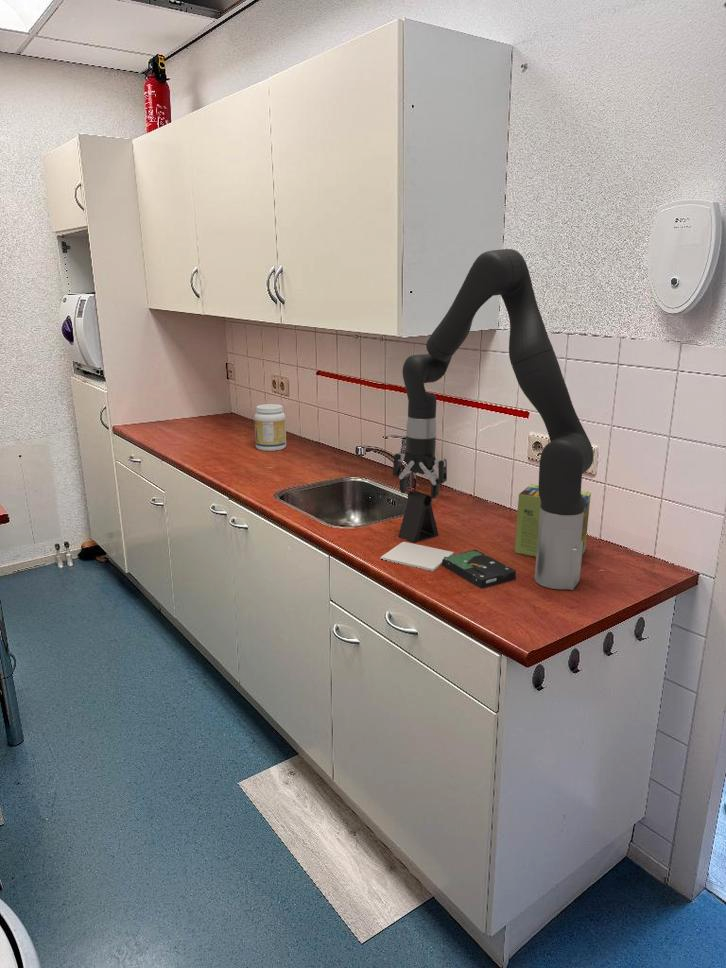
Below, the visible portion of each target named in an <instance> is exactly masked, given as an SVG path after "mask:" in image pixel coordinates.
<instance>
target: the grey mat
mask: <svg viewBox="0 0 726 968" xmlns="http://www.w3.org/2000/svg"><path fill="white" fill-rule="evenodd" d="M453 555H455V552H454V551H450V550H445V549H440V548H436V547H431V546H426V545H421V544H418V543H413V542H409V541H402V542H400V543H399V544H398V545H396V546H394V547H393V548H392V549H390V550H389V551H388V552H386V553H384V554H383V555H382V556H380V560H381V559H383V560H382V561H385V560H387V561H386V562H390V561H391V562H390V563H394V562H395V563H394V564H398V563H399V565H403V566H408V567H411V568H416V567H417V569H420V568H421V569H422V570H425V571H429V570H430V571H429V572H435V570H437V569H438V568H439V567H440V566H442V559H444V557H449V556H453Z"/></svg>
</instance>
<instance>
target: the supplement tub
mask: <svg viewBox="0 0 726 968" xmlns="http://www.w3.org/2000/svg"><path fill="white" fill-rule="evenodd" d="M255 408H256V413H255V414H254V434H255V435H254V436H255V448H256V449H258V450H260V451H264V452H272V451H273V452H275V451H276V450H277V451H281V450H283V449H285V448H286V447H287V429H286V428H287V427H286V414H285V413H284V412H283V411H284V406H283V405H282V404H276V403H272V404H271V403H267V404H260V405H259V404H258V405H257V406H255ZM277 451H276V452H277Z"/></svg>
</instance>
